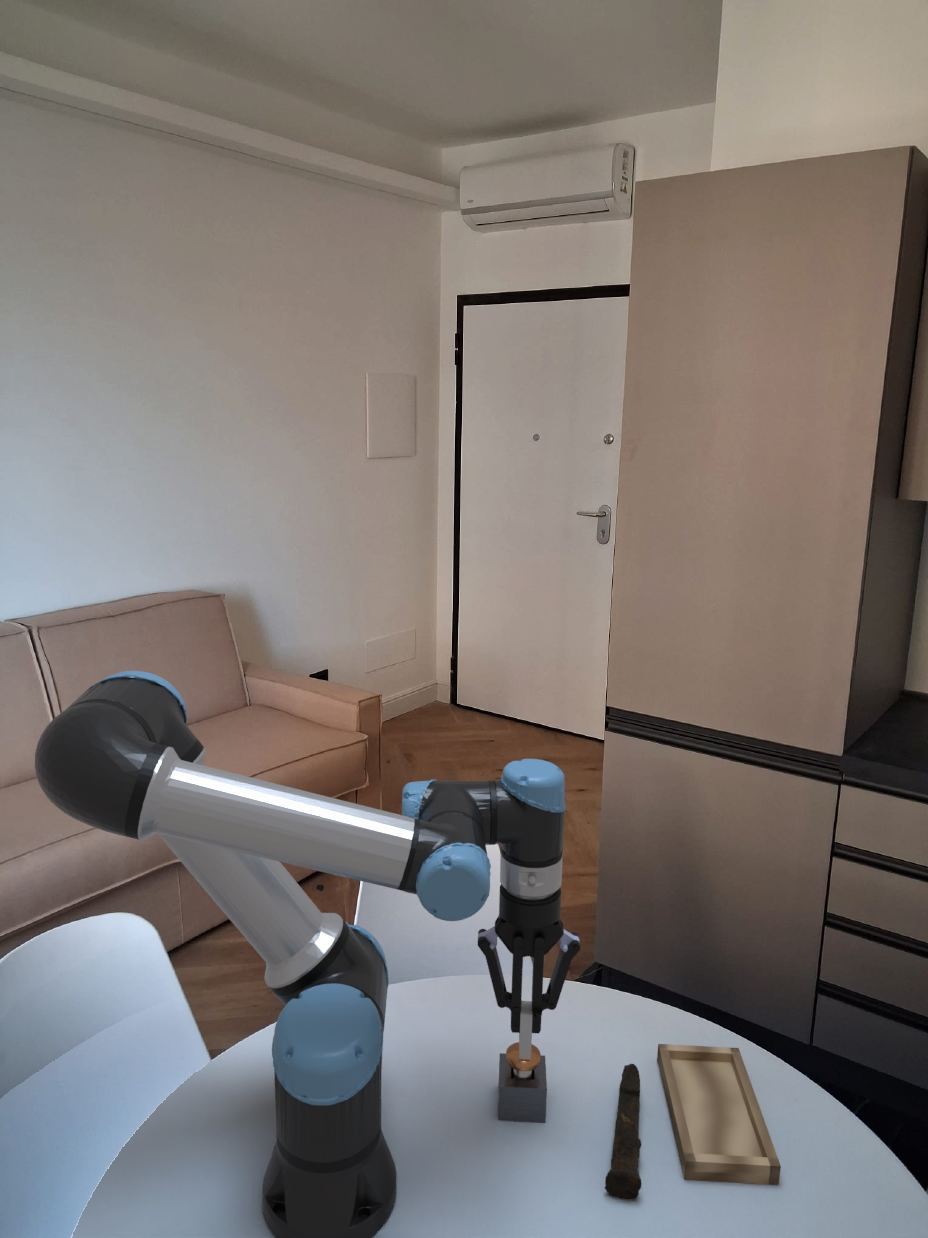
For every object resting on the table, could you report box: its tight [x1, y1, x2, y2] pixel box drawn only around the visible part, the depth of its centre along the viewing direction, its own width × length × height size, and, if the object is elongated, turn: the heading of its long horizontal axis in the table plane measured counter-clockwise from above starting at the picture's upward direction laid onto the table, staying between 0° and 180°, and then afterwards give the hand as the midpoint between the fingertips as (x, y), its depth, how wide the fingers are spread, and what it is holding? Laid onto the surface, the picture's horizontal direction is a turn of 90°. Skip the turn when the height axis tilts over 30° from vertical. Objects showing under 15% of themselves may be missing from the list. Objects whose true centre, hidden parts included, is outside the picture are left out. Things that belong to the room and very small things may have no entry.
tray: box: [656, 1043, 782, 1186], centre depth 115 cm, size 11×20×3 cm, turn 177°
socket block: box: [497, 1052, 548, 1124], centre depth 117 cm, size 6×6×5 cm
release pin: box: [505, 1041, 541, 1080], centre depth 116 cm, size 4×4×7 cm
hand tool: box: [604, 1063, 643, 1201], centre depth 112 cm, size 19×4×5 cm, turn 164°
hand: (524, 1052), depth 115 cm, fingers closed
